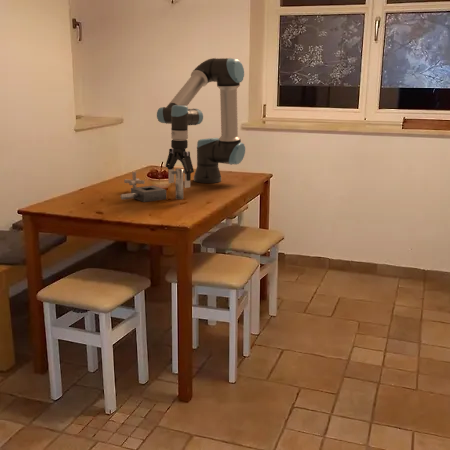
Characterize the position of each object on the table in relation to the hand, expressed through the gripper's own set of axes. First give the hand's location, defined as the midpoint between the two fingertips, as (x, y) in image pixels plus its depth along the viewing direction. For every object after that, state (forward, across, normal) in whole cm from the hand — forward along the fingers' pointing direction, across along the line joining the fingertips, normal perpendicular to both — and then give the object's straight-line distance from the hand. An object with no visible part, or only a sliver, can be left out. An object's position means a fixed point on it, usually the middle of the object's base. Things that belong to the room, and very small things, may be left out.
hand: (179, 185), depth 278 cm
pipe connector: (+7, -25, -10) cm, 28 cm away
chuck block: (+7, -8, -16) cm, 19 cm away
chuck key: (+6, 0, 0) cm, 6 cm away
